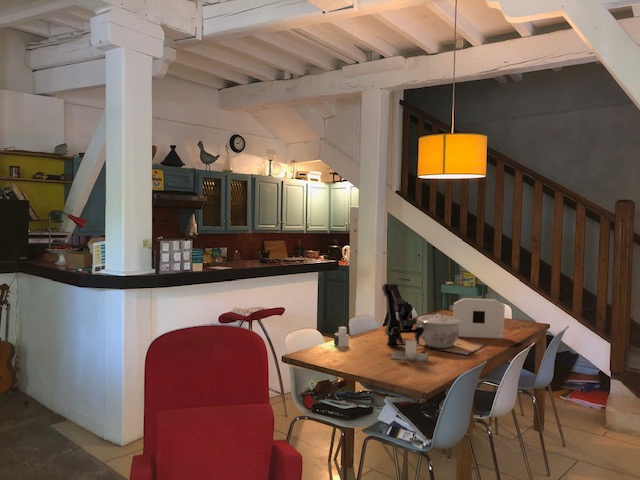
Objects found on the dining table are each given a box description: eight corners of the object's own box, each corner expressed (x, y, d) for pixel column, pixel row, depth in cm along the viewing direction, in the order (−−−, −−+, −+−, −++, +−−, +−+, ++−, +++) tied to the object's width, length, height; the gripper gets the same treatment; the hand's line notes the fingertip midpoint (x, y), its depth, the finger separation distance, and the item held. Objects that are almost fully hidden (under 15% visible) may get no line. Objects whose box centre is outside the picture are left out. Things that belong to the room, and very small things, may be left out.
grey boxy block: (495, 330, 378) (496, 294, 377) (503, 338, 354) (505, 299, 353) (447, 328, 381) (449, 292, 380) (452, 336, 357) (454, 298, 356)
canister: (403, 357, 300) (403, 340, 299) (409, 355, 304) (409, 338, 304) (412, 360, 296) (412, 342, 295) (418, 357, 300) (418, 340, 300)
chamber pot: (461, 342, 341) (462, 310, 340) (460, 353, 314) (462, 319, 313) (417, 338, 348) (418, 307, 347) (413, 349, 322) (414, 315, 321)
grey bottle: (333, 344, 329) (334, 325, 328) (344, 343, 331) (344, 325, 331) (338, 347, 322) (338, 328, 321) (348, 346, 325) (349, 327, 324)
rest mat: (393, 351, 314) (393, 350, 314) (427, 354, 309) (427, 353, 309) (390, 359, 299) (390, 358, 299) (426, 362, 294) (426, 361, 294)
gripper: (392, 313, 303) (398, 337, 293) (423, 313, 307) (430, 336, 296) (388, 324, 311) (393, 347, 301) (418, 323, 315) (424, 346, 305)
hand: (410, 344), depth 301 cm, fingers open, 9 cm apart
